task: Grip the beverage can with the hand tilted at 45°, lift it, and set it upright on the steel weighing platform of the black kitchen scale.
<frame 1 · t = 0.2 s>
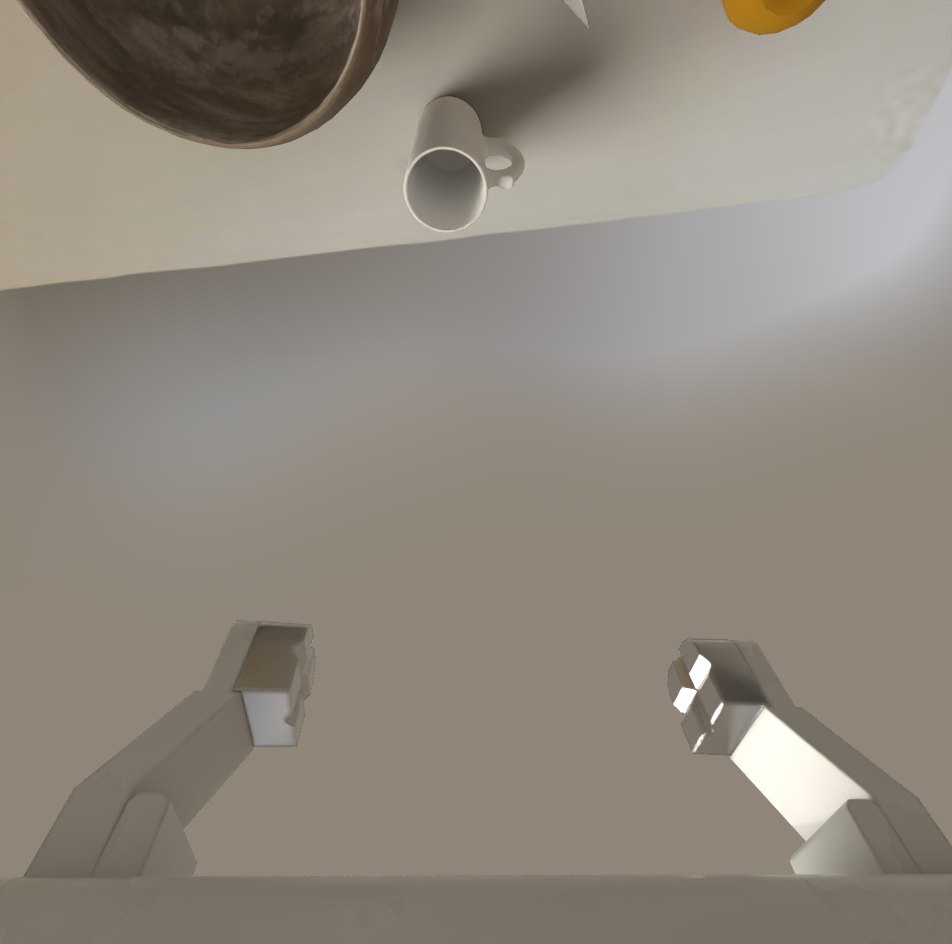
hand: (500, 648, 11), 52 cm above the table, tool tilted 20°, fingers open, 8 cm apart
mug: (466, 132, 50), on the table
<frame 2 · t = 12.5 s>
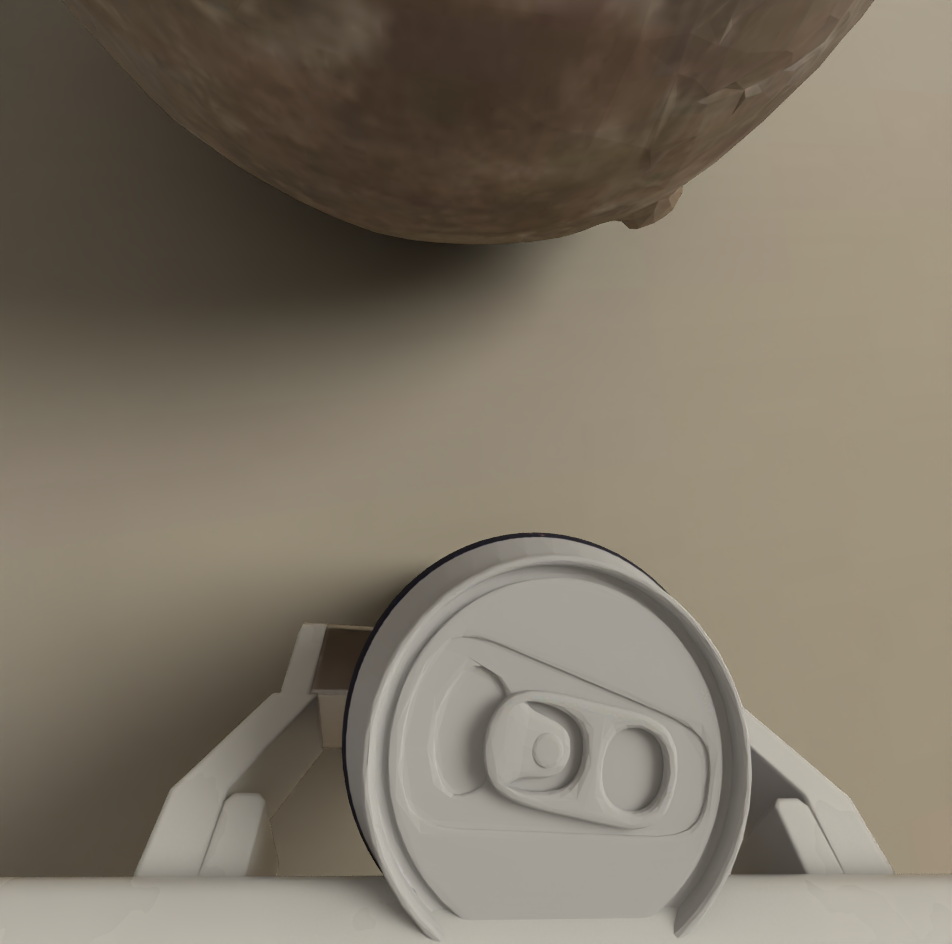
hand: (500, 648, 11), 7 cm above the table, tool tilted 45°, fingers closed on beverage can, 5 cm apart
bowl: (441, 100, 23), on the table
beverage can: (470, 642, 18), on the table, touching gripper
when the fingers open (10 cm above the table, at t = 22.9 s): beverage can stays where it is, resting on scale.
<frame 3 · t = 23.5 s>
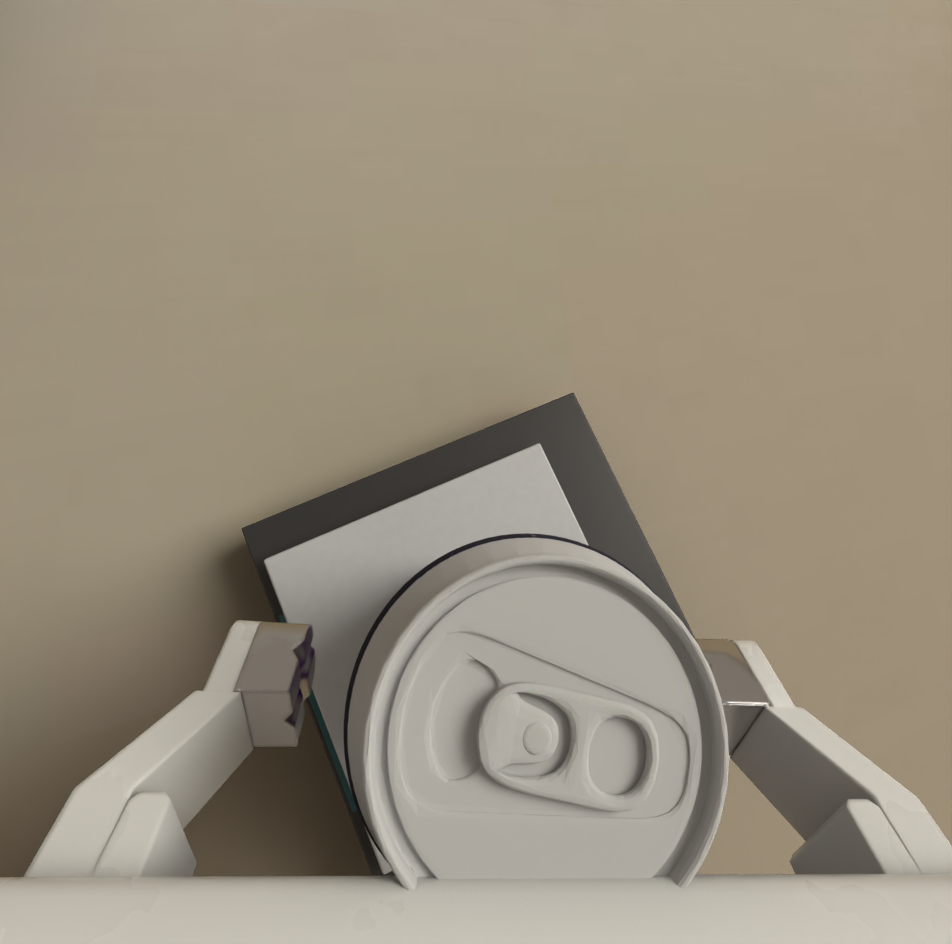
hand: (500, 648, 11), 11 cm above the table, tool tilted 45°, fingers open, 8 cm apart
scale: (483, 619, 22), on the table
beverage can: (467, 639, 19), point 3 cm above the table, touching scale
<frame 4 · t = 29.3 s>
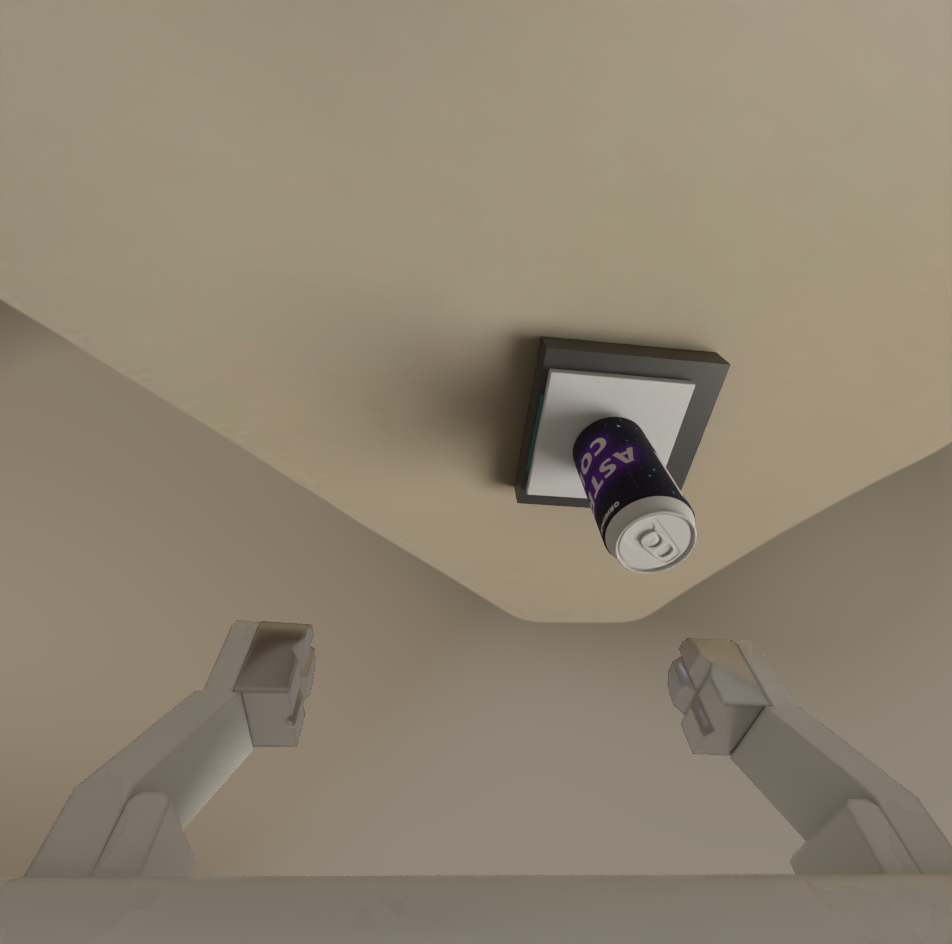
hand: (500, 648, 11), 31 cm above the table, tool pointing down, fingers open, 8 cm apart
scale: (608, 424, 44), on the table
beverage can: (605, 442, 41), point 3 cm above the table, touching scale
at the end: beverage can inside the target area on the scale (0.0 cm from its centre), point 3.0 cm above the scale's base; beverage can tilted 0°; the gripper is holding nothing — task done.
